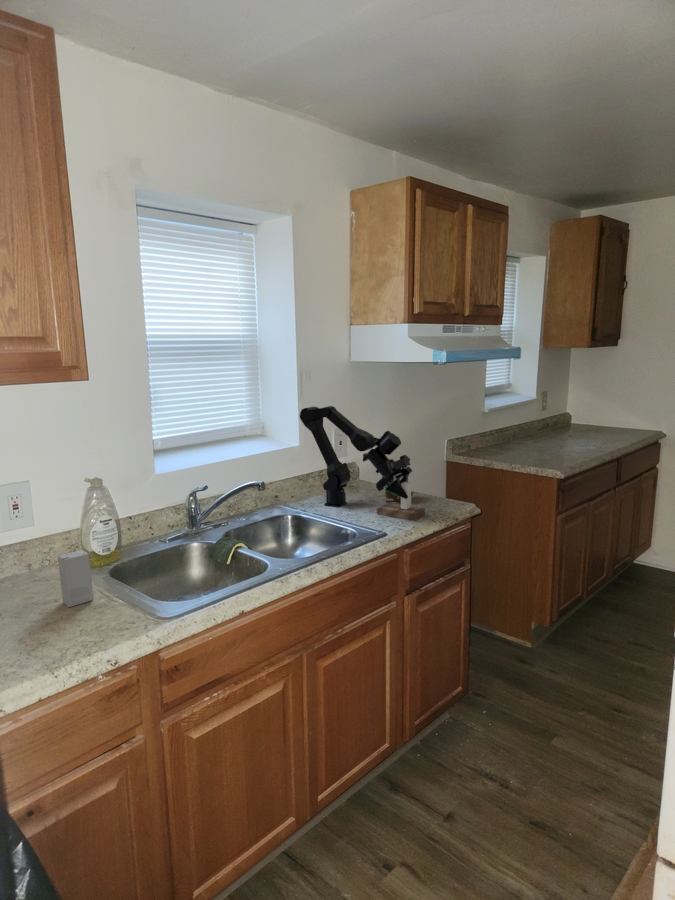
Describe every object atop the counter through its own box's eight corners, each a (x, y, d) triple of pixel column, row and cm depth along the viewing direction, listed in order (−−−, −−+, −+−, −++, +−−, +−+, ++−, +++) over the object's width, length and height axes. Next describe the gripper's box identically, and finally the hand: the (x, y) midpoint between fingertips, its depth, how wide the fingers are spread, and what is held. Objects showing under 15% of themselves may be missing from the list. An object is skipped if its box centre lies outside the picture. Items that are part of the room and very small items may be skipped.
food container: (397, 505, 223) (397, 479, 221) (383, 503, 227) (383, 477, 225) (414, 498, 233) (414, 473, 231) (400, 496, 237) (400, 471, 235)
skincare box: (87, 595, 147) (83, 548, 145) (94, 600, 144) (90, 553, 141) (61, 602, 143) (56, 554, 141) (68, 608, 140) (63, 559, 137)
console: (376, 514, 212) (376, 507, 212) (387, 509, 219) (387, 502, 218) (415, 520, 204) (415, 513, 204) (424, 515, 211) (425, 508, 210)
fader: (400, 508, 209) (400, 483, 207) (404, 506, 212) (405, 481, 210) (406, 509, 208) (407, 484, 206) (411, 507, 211) (411, 482, 209)
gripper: (383, 453, 200) (413, 488, 197) (407, 444, 216) (435, 477, 212) (363, 473, 206) (391, 508, 202) (388, 463, 221) (414, 496, 218)
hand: (409, 496), depth 208 cm, fingers closed on fader, 3 cm apart
